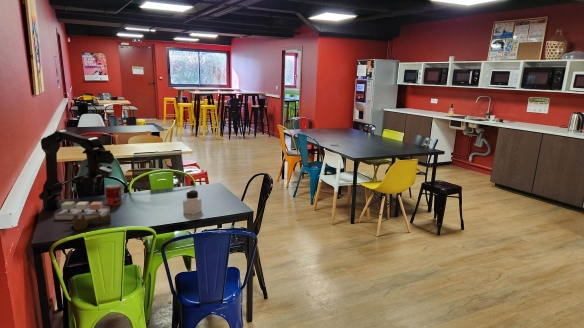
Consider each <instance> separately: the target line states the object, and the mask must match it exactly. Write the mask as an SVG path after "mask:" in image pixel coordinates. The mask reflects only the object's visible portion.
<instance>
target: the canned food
mask: <svg viewBox="0 0 584 328" xmlns="http://www.w3.org/2000/svg"><path fill="white" fill-rule="evenodd" d="M105 199H106V206H109V207H117V206H120V205H121V204H122V202H123V201H122V187H121V184H119V183H109V184H107V185H105Z"/></svg>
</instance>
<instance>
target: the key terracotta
mask: <svg viewBox="0 0 584 328" xmlns="http://www.w3.org/2000/svg"><path fill="white" fill-rule="evenodd" d="M89 206H90V210H100V209H101V208H102V207H103V206H104V201H93V202H91V203H89Z"/></svg>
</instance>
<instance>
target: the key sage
mask: <svg viewBox="0 0 584 328" xmlns="http://www.w3.org/2000/svg"><path fill="white" fill-rule="evenodd" d="M75 206H76V202H75V201H65V202H63V203H61V204H60V207H61V211H62V210H72V209H73V208H74V207H75Z"/></svg>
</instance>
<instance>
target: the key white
mask: <svg viewBox="0 0 584 328" xmlns="http://www.w3.org/2000/svg"><path fill="white" fill-rule="evenodd" d="M75 206H76V210H86V209H87V208H88V207H89V206H90V202H89V201H78V202H77V203H75Z"/></svg>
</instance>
